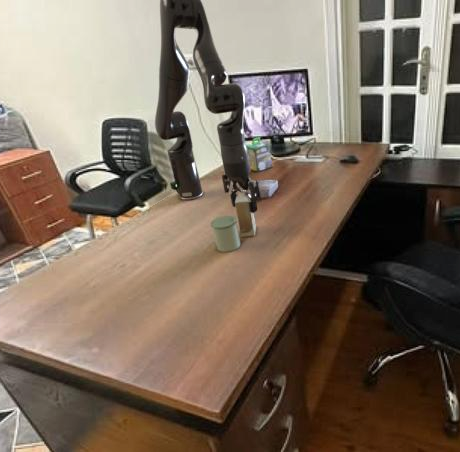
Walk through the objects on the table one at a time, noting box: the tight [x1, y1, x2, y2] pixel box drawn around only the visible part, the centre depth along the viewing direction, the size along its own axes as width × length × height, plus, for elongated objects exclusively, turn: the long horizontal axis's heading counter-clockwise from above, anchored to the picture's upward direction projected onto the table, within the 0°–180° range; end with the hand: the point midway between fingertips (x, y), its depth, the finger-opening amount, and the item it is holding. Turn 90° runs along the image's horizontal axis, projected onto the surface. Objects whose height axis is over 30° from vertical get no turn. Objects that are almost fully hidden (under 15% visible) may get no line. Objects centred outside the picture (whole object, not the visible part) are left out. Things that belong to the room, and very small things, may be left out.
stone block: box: [248, 179, 279, 199], centre depth 142 cm, size 12×5×10 cm
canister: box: [210, 215, 241, 253], centre depth 104 cm, size 7×7×8 cm
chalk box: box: [246, 136, 273, 173], centre depth 167 cm, size 9×9×15 cm
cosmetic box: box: [235, 193, 257, 238], centre depth 110 cm, size 6×4×12 cm
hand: (244, 208), depth 109 cm, fingers open, 8 cm apart
